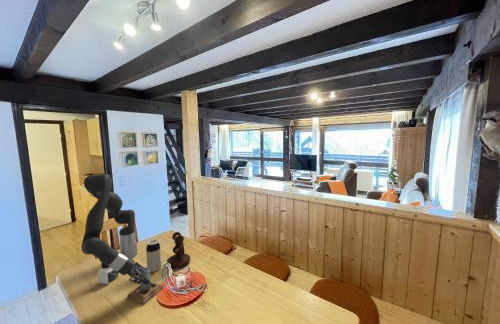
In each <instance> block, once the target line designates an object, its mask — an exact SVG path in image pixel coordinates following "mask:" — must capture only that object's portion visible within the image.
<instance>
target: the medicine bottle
mask: <svg viewBox="0 0 500 324" xmlns="http://www.w3.org/2000/svg"><path fill="white" fill-rule="evenodd" d="M100 262H101V261H100ZM100 265H101V267H100V269H99V270H97V279H98V280H97V281H98V284H103V285H104V284H105V285H110V284H111V283H113V282H114V281H115V280H116V279H118V278H119V274H120V273H118V272H116V271H115V270H113V269H111V268H110V267H109V266H107V265H106V264H104V263H102V262H101V264H100Z"/></svg>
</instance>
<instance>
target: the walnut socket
mask: <svg viewBox="0 0 500 324" xmlns="http://www.w3.org/2000/svg"><path fill="white" fill-rule="evenodd" d="M150 284H151V288H150V289H149V290H148V291H145V292H141V291H140V284H138V286H137V287H135V288H134V289H132V290H131V291H130V292H129V293H128V294H127V295H126V296H127V298H128V299H130V300H133V301H135V302H138V303H140V304H142V305H146V304H147V303H148V302H149V301H150V300H152V299H153V298H154V297H155V296H156V295H157V294H159V293H160V292H161V291H162V290H163V289H164V285H161V284H159V283H156V282H153V281H150ZM162 288H163V289H162ZM161 289H162V290H161ZM160 290H161V291H160ZM159 291H160V292H159ZM158 292H159V293H158Z"/></svg>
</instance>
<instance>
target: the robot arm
mask: <svg viewBox="0 0 500 324" xmlns="http://www.w3.org/2000/svg"><path fill="white" fill-rule="evenodd" d="M83 185H84V188H85V190H86V191H87V192H88V194H90V195H92V196H93V197H94V198H95V199H97V200H96V203H94V205H93V206H92V207H91V208H90V210H89V212H88V214H87V217H86V222H85V227H84V229H85V230H84V235H83V239H82V242H81V252H82V253H83V254H84V255H92V256H94V257H95V258H97V259H98V260H99V261H100V262H102V263H104V264H106V265H107V266H109V267H110V268H111V269H113V270H115V271H116V272H118V274H120V275H121V276H125V275H128V276H129V277H130V278H129V281H130V282H132V283H134V284H137V285H140V283H141V282H142V283H144V284H145V285H148V284H149V283H150V282H151V280H150V281H149V280H148V279H146V278H144V277H143V276H142V275H141V273H140V272H139V270H141V269H142V268H145V267H144V266H143V265H141V264H140V263H139V262H137V261H136V262H135V260H133V258H135V257H136V256H137V255H138V243H137V241H136V233H135V231H136V230H135V229H136V213H135V211H134V210H133V209H124V210H123V209H122V208H123V200H122V198H121V197H120V195H118V194H117V193H116V192H113V191H112V185H113V179H112V177H111V175H110V174H105V173H101V174H93V175H91V174H90V175H87V176H86V177H85V178H84V181H83ZM106 210H107V211H108V212H109V214H110V215H111V217H112V218H113V219H114V221H115V222H116V224H118V225H127V226H125V227H122V228H120V229H119V230H118V231H119V232H118V234H119V235H118V236H119V249H120V250H117V249H115V248H113V247H111V246H110V245H109V244H108V243H107V242H106V241H104V240H103V239H101V233H102V231H103V228H104V220H105V214H106ZM140 277H141V278H140Z"/></svg>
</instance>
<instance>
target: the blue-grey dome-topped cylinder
mask: <svg viewBox="0 0 500 324" xmlns="http://www.w3.org/2000/svg"><path fill="white" fill-rule="evenodd" d="M150 271H151V269H150V268H149V267H147V266H146V267H144V268H142V269H141V270H139V272H140V273H141V275H142V276H143V277H144V278H146V279H148V280H149V281H150V282H151V272H150ZM140 278H141V277H140ZM139 285H140V291H141V292H145V291H148V290H149V289H150V288H151V284H150V283H149V284H148V285H145V284H144V283H142V282H141V283H140V284H139Z"/></svg>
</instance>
